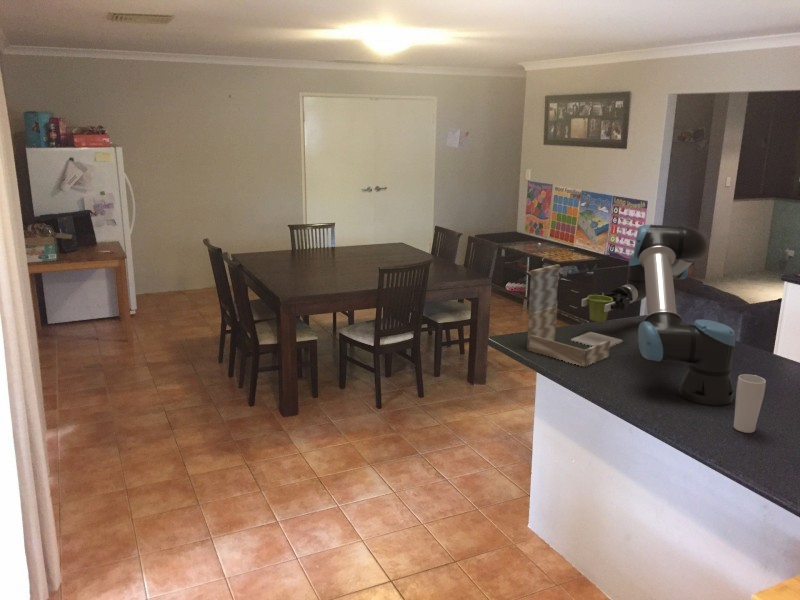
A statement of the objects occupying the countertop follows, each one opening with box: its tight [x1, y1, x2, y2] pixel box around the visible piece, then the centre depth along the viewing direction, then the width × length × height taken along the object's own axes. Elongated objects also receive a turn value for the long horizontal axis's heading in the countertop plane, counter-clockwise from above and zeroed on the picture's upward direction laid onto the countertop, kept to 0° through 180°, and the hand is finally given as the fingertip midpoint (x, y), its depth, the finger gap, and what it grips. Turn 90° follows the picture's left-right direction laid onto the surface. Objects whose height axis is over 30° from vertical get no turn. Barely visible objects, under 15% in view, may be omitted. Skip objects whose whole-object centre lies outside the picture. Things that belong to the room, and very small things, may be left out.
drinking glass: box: [733, 373, 767, 434], centre depth 179 cm, size 7×7×15 cm
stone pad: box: [570, 331, 624, 348], centre depth 253 cm, size 14×14×1 cm
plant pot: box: [587, 295, 613, 323], centre depth 250 cm, size 9×9×9 cm
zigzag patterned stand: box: [526, 264, 611, 368], centre depth 236 cm, size 16×24×30 cm
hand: (593, 305), depth 246 cm, fingers closed on plant pot, 9 cm apart
